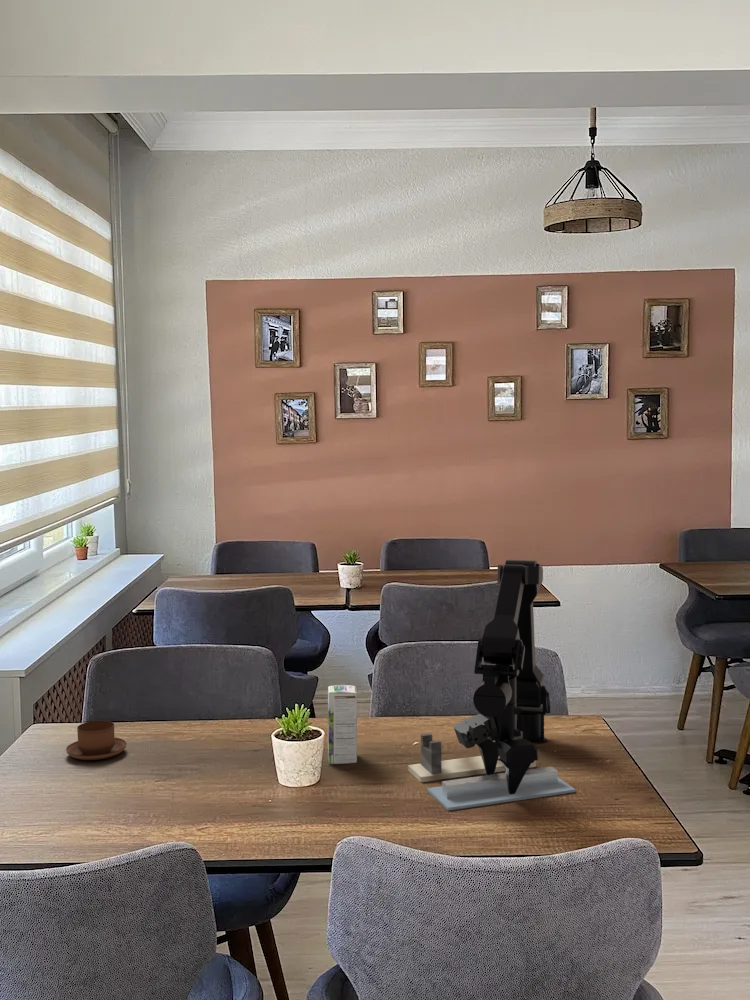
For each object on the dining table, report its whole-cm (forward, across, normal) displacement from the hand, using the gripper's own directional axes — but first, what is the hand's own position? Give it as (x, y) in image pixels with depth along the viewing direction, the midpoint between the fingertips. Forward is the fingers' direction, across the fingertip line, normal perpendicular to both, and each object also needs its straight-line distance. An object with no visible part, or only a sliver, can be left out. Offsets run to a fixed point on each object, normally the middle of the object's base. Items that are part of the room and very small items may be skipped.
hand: (500, 785), depth 186 cm
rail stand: (+1, -13, 0) cm, 13 cm away
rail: (+1, 0, 0) cm, 1 cm away
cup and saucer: (+2, -48, -68) cm, 84 cm away
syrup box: (+1, -27, -22) cm, 35 cm away
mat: (+1, 0, 0) cm, 1 cm away
